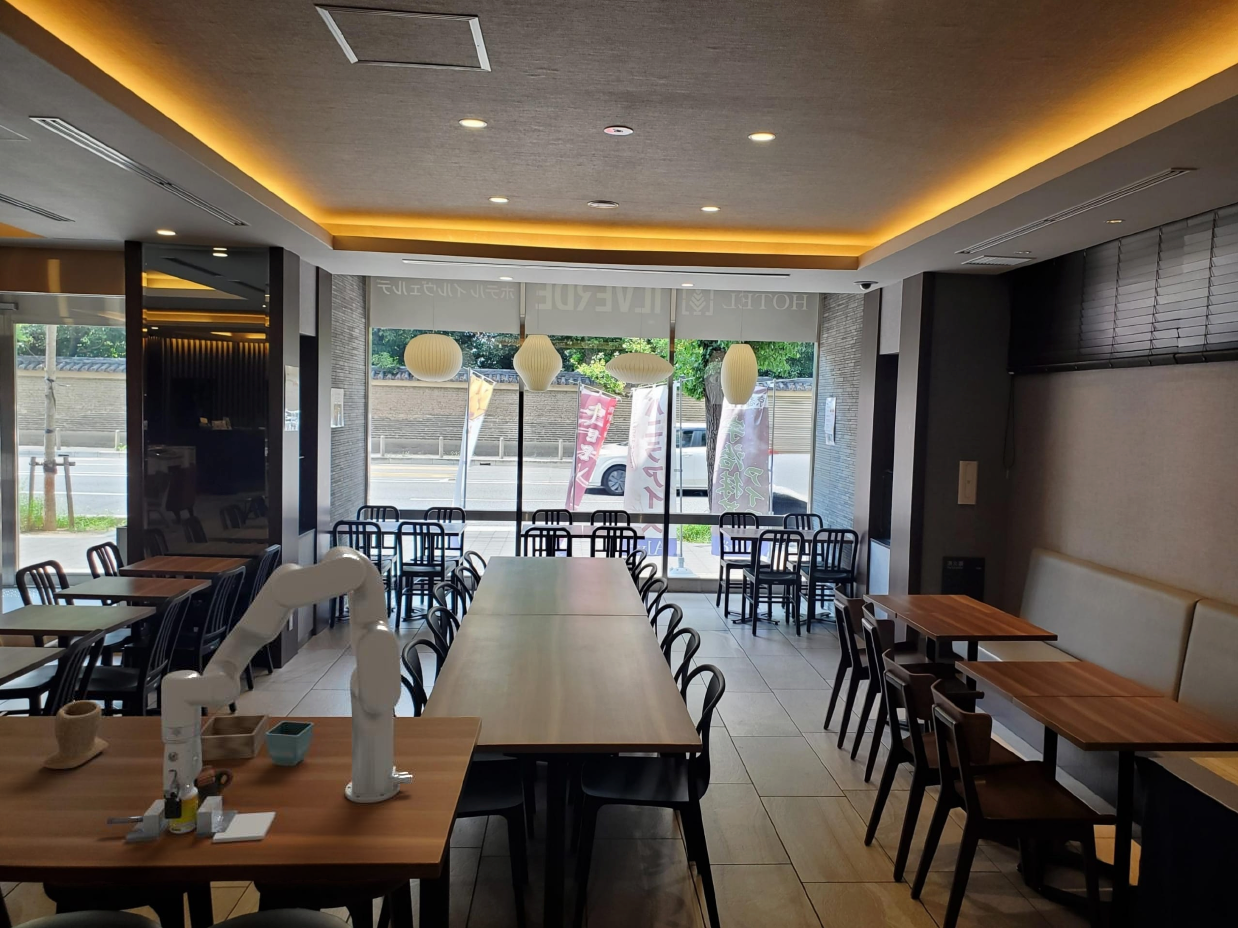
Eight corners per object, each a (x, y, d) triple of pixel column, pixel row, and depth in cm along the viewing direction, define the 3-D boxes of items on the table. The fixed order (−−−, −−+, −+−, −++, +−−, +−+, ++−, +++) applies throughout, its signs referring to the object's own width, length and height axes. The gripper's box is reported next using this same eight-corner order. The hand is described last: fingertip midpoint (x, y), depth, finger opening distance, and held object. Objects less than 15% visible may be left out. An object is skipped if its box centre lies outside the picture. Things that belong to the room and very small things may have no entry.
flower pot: (314, 755, 211) (314, 722, 211) (298, 770, 203) (297, 735, 202) (282, 753, 212) (282, 720, 212) (265, 768, 203) (264, 733, 203)
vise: (238, 814, 180) (237, 792, 180) (225, 835, 172) (225, 812, 171) (117, 821, 176) (117, 799, 176) (98, 843, 167) (98, 820, 167)
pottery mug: (177, 814, 181) (169, 778, 183) (187, 813, 189) (179, 779, 192) (234, 792, 185) (226, 757, 188) (241, 792, 194) (232, 758, 196)
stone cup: (79, 774, 198) (78, 714, 197) (34, 771, 199) (32, 712, 198) (122, 748, 213) (121, 693, 212) (80, 745, 214) (79, 691, 213)
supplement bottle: (202, 827, 175) (201, 782, 174) (174, 837, 170) (173, 790, 170) (192, 818, 178) (192, 773, 178) (165, 827, 174) (164, 782, 174)
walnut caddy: (269, 734, 224) (268, 713, 223) (254, 757, 209) (254, 734, 209) (213, 737, 221) (212, 716, 221) (194, 760, 207) (193, 737, 207)
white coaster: (275, 815, 180) (275, 811, 180) (263, 838, 171) (263, 835, 170) (227, 818, 179) (227, 814, 179) (212, 842, 169) (212, 838, 169)
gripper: (185, 745, 165) (185, 826, 166) (213, 713, 182) (213, 787, 183) (146, 746, 164) (146, 828, 165) (177, 715, 181) (177, 788, 182)
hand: (181, 806), depth 174 cm, fingers open, 9 cm apart
